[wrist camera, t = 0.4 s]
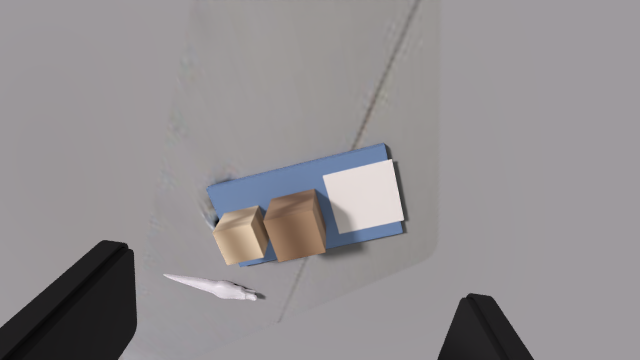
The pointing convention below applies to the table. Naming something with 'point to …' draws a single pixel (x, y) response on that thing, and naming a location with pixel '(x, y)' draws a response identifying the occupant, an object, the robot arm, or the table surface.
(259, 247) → the maple cube
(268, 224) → the walnut cube
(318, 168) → the board
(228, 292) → the stylus pen
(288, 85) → the table surface
